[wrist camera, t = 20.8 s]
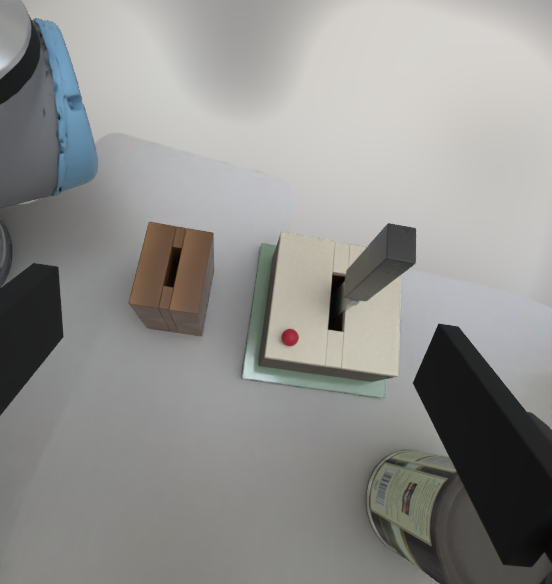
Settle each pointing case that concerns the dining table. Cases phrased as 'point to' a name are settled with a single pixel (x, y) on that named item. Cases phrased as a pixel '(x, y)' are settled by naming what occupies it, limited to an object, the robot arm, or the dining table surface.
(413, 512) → the coffee can
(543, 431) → the robot arm
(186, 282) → the knife block
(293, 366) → the cake
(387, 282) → the knife
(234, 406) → the dining table surface
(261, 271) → the cake platter
